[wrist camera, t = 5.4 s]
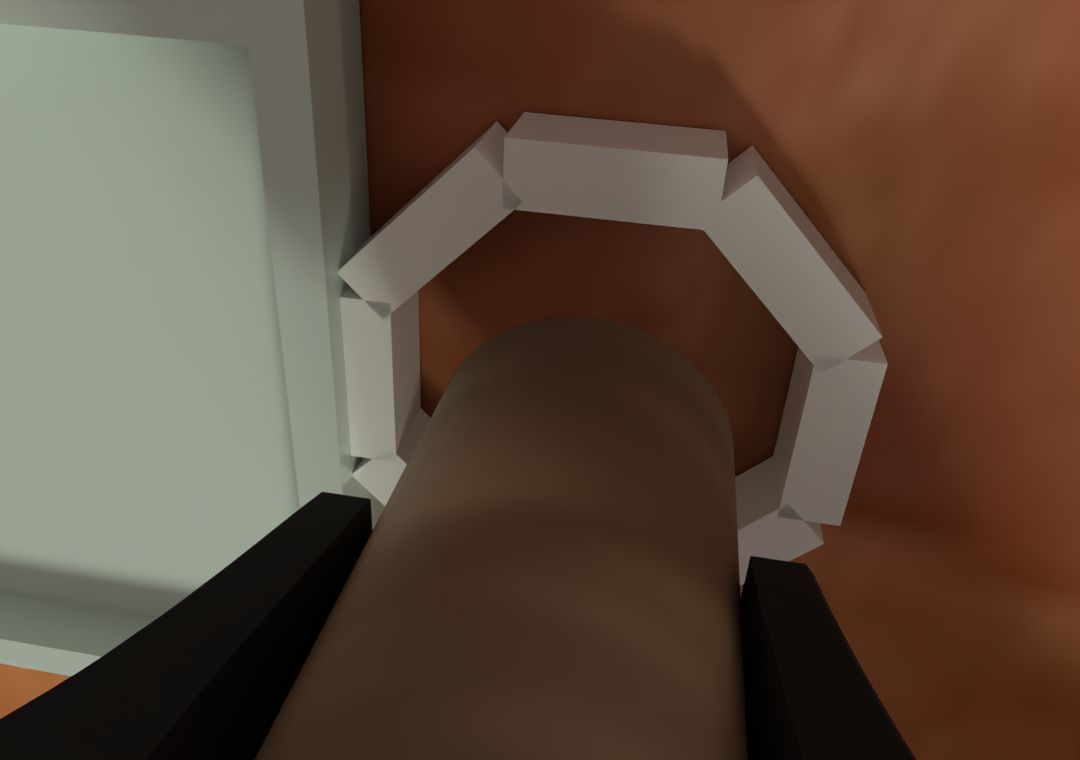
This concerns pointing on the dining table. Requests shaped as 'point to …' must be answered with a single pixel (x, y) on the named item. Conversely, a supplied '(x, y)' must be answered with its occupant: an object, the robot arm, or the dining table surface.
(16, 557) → the tray
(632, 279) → the dining table surface
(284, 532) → the robot arm
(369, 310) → the holder ring
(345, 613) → the walnut canister
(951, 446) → the dining table surface
